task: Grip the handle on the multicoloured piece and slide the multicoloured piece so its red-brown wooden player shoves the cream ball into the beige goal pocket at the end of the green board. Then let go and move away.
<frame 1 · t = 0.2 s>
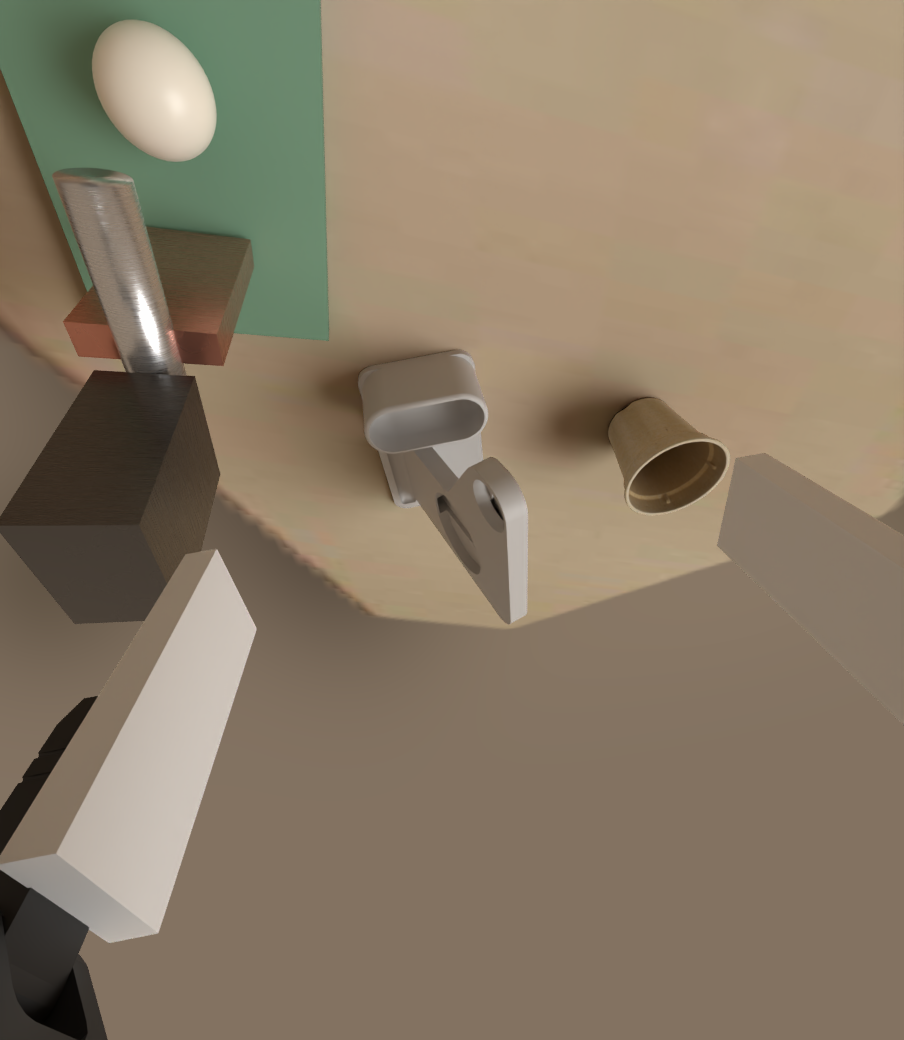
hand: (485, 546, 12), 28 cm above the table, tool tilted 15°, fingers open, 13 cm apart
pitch: (164, 16, 23), on the table
ball: (157, 96, 22), point 4 cm above the table, touching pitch
flower pot: (637, 420, 48), on the table
phone holder: (429, 434, 45), on the table
multicoloured piece: (154, 339, 22), point 13 cm above the table, slide at 0.0 cm
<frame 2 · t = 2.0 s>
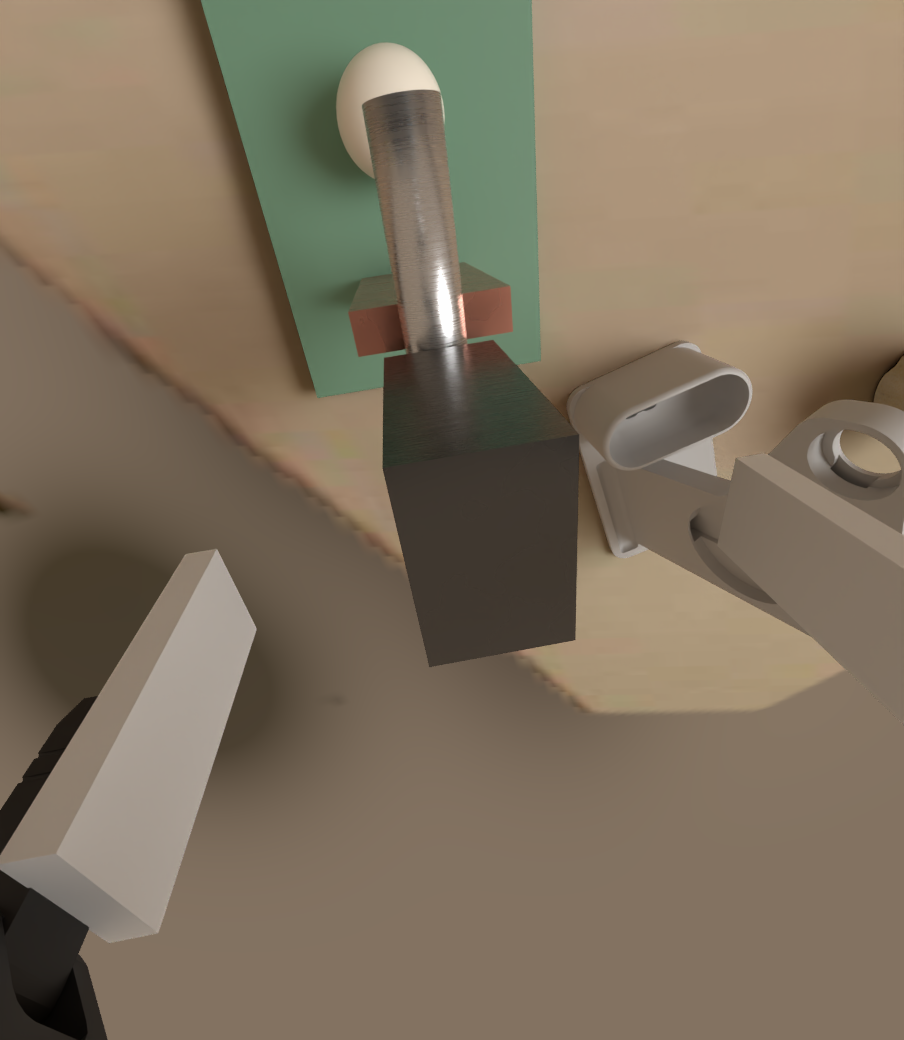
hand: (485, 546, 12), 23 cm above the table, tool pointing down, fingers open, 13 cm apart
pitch: (380, 69, 24), on the table
ball: (391, 118, 22), point 4 cm above the table, touching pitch
phone holder: (647, 457, 38), on the table
multicoloured piece: (431, 323, 18), point 13 cm above the table, slide at 0.0 cm
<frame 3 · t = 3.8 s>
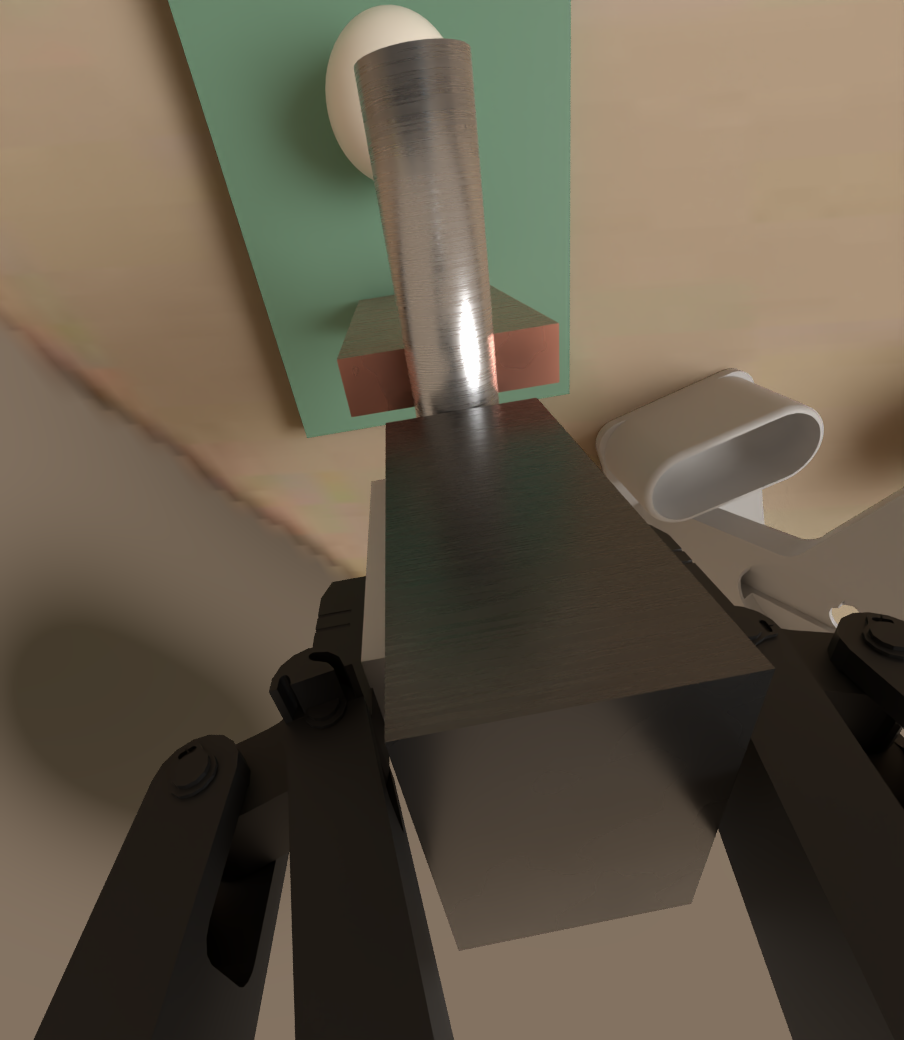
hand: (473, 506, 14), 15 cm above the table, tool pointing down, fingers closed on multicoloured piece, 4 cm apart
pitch: (381, 46, 19), on the table
ball: (395, 104, 17), point 4 cm above the table, touching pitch
phone holder: (685, 497, 34), on the table
multicoloured piece: (449, 370, 14), point 13 cm above the table, slide at 0.0 cm, touching gripper
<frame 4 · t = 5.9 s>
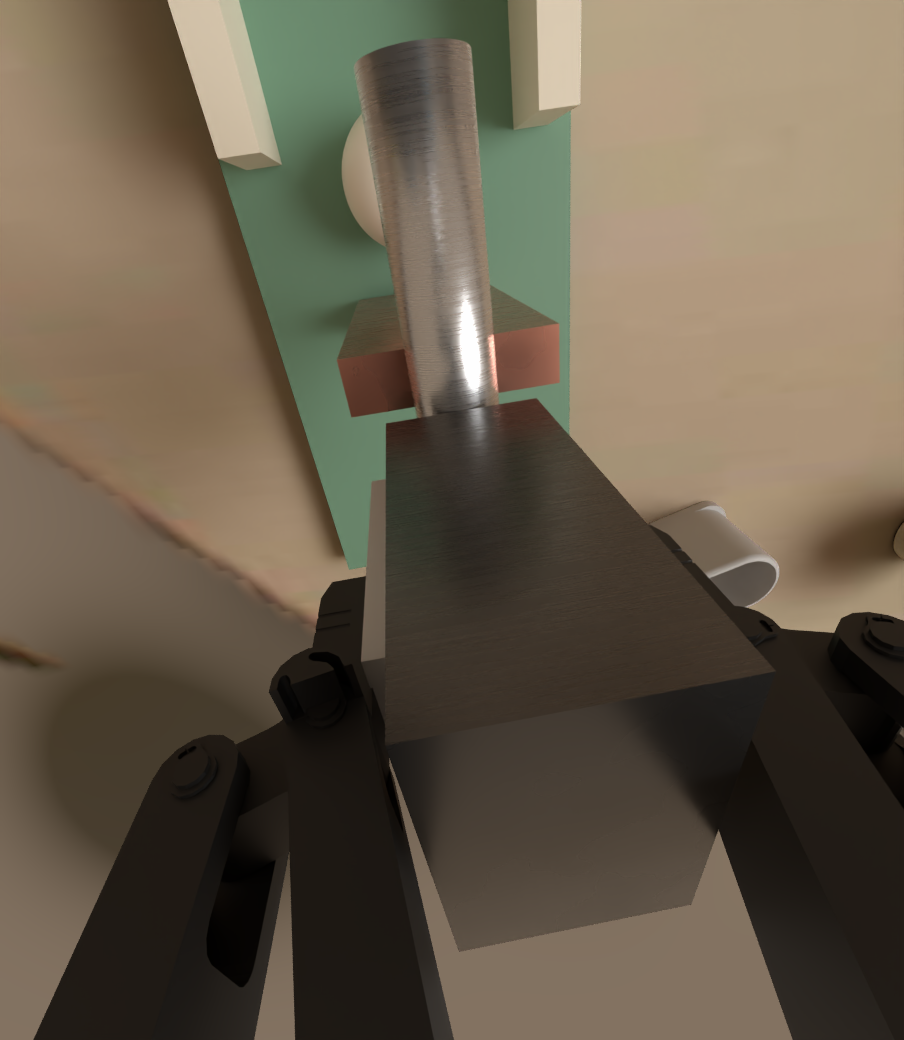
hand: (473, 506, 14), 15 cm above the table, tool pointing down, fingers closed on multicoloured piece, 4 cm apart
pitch: (419, 296, 25), on the table
ball: (406, 180, 19), point 4 cm above the table, tilted 162°, touching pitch
phone holder: (669, 596, 39), on the table
multicoloured piece: (449, 370, 14), point 13 cm above the table, slide at 9.5 cm, touching gripper
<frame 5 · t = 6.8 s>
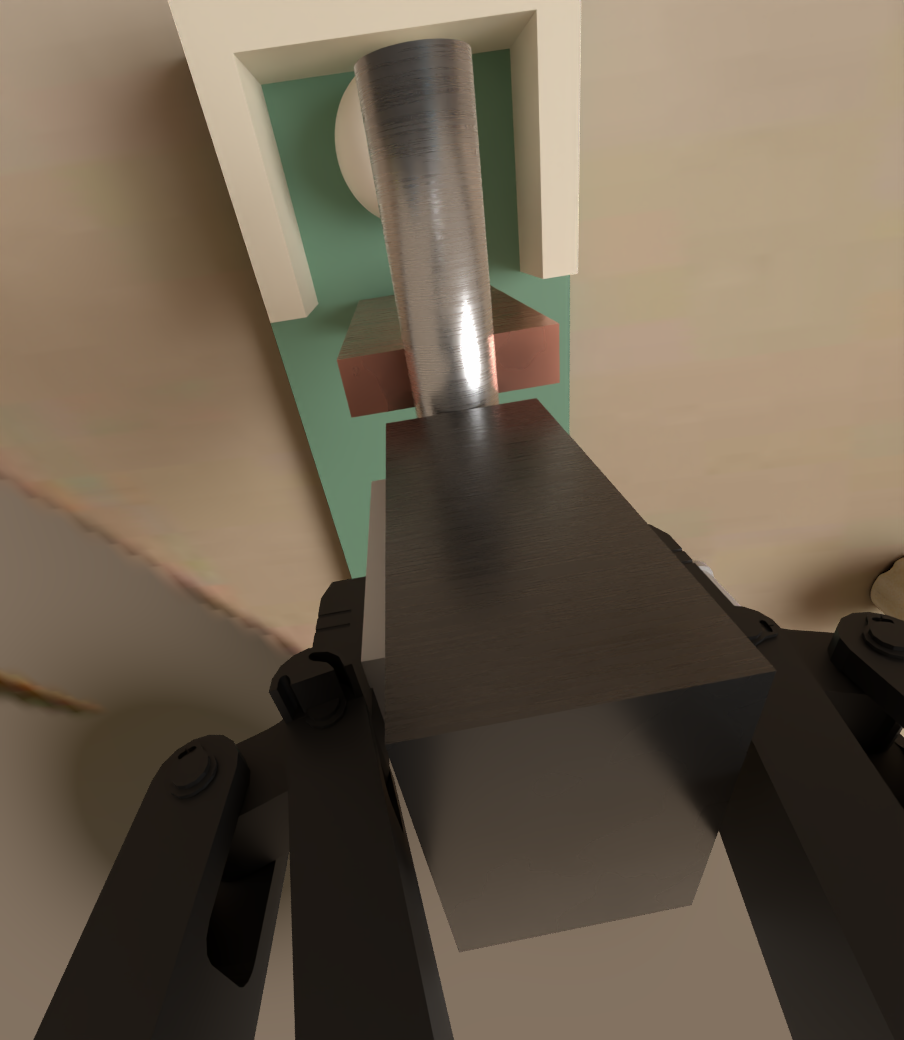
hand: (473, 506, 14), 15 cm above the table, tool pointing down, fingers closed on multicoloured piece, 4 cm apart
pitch: (435, 397, 27), on the table
ball: (401, 147, 18), point 4 cm above the table, tilted 49°, touching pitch
flower pot: (903, 576, 41), on the table
phone holder: (662, 642, 42), on the table
multicoloured piece: (449, 370, 14), point 13 cm above the table, slide at 14.9 cm, touching gripper
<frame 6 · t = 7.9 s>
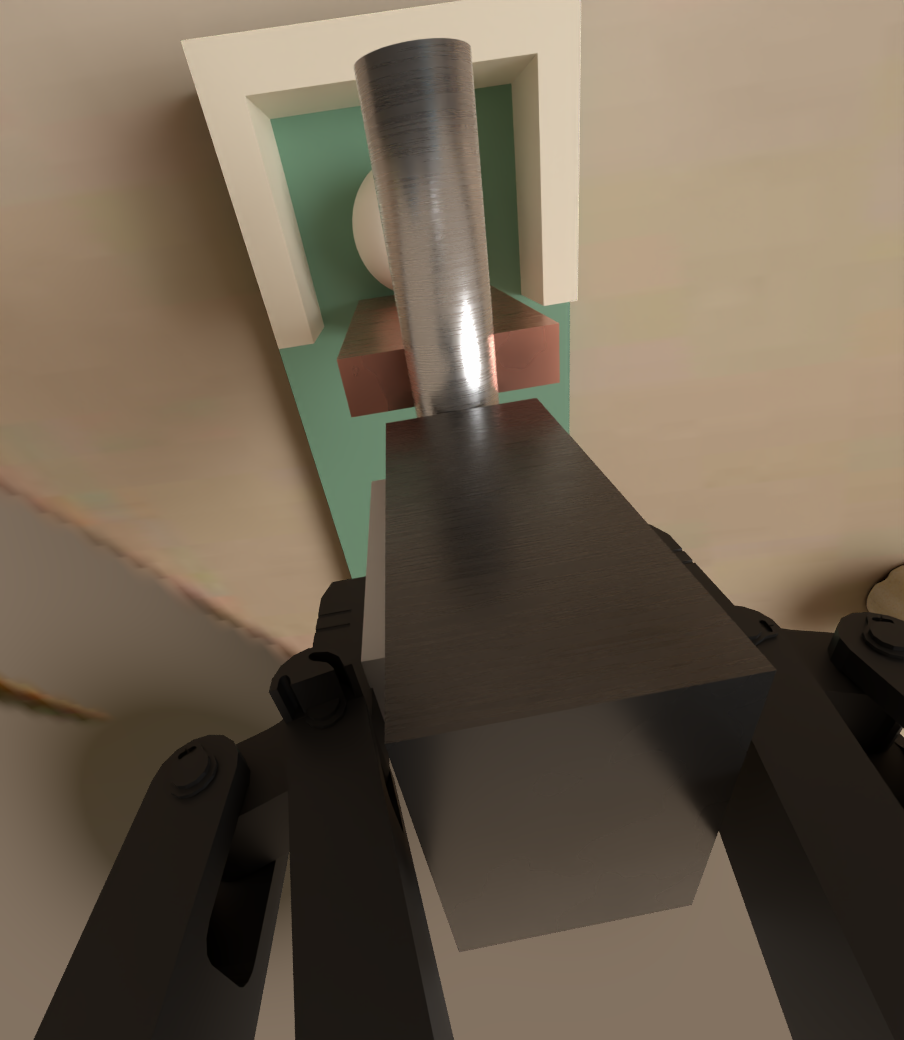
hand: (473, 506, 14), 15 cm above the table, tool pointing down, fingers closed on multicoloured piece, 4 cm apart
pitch: (438, 414, 28), on the table
ball: (413, 229, 20), point 4 cm above the table, tilted 87°, touching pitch
flower pot: (898, 585, 41), on the table
multicoloured piece: (449, 370, 14), point 13 cm above the table, slide at 16.0 cm, touching gripper
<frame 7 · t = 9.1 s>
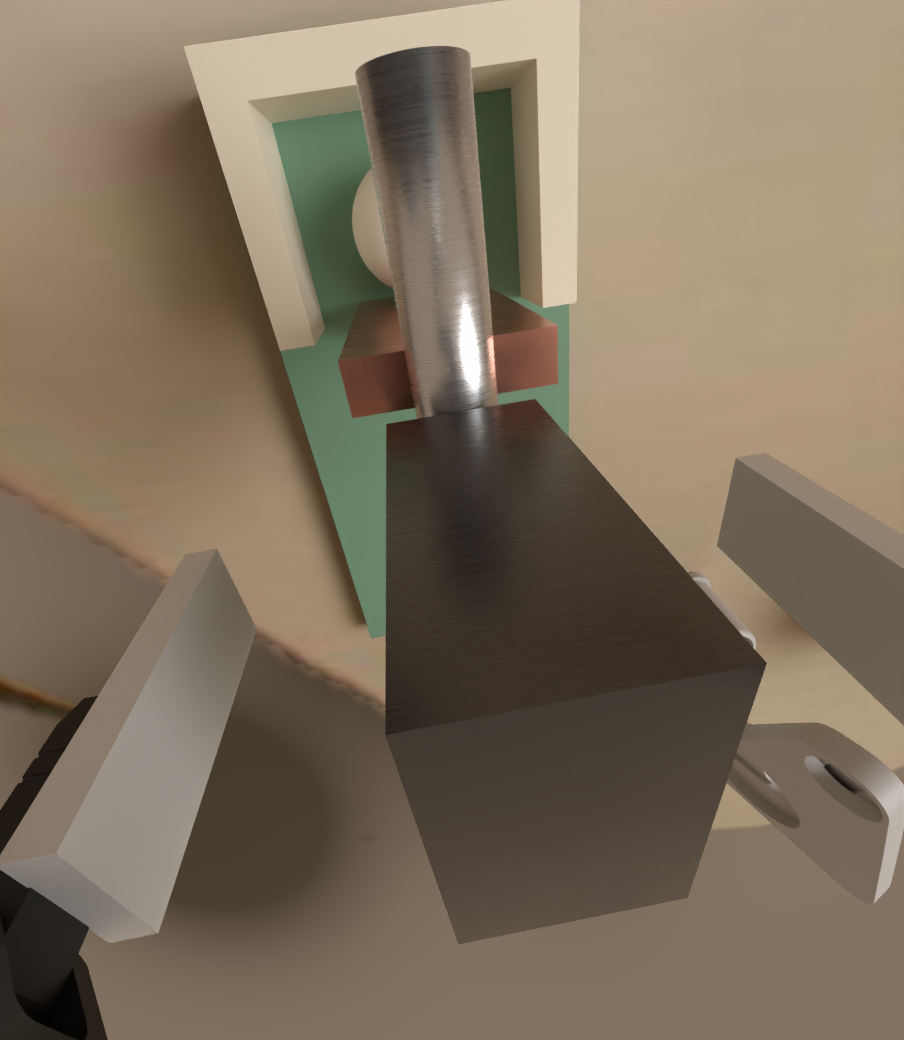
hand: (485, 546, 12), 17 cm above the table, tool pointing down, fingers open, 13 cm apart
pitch: (438, 416, 28), on the table
ball: (413, 227, 20), point 4 cm above the table, tilted 83°, touching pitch
phone holder: (660, 650, 42), on the table
multicoloured piece: (449, 371, 14), point 13 cm above the table, slide at 16.0 cm
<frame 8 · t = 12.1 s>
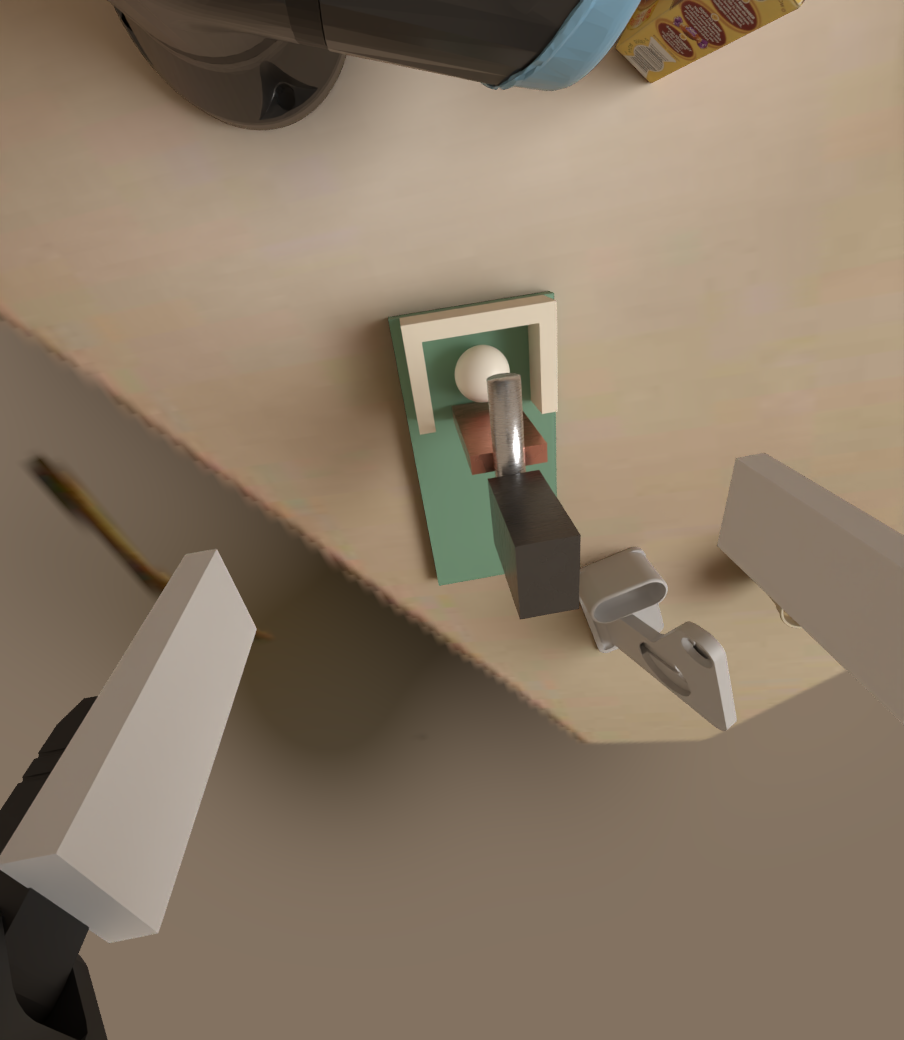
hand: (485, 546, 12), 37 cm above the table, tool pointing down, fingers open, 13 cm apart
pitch: (484, 457, 51), on the table
ball: (482, 374, 43), point 4 cm above the table, tilted 73°, touching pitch
phone holder: (618, 599, 66), on the table
multicoloured piece: (506, 456, 37), point 13 cm above the table, slide at 16.0 cm
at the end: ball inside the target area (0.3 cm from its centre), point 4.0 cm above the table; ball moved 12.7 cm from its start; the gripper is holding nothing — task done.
